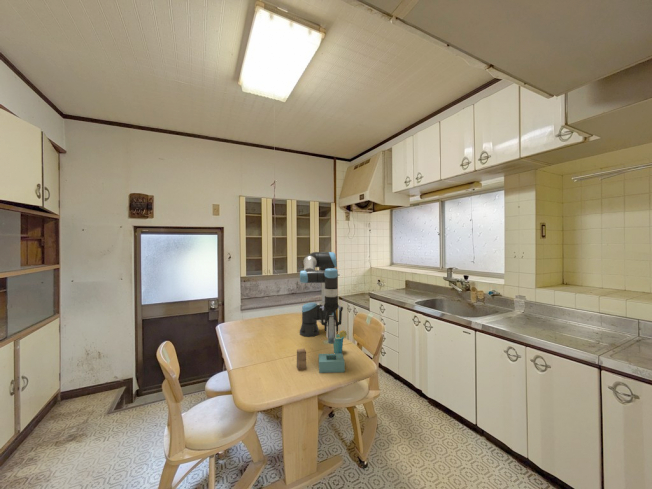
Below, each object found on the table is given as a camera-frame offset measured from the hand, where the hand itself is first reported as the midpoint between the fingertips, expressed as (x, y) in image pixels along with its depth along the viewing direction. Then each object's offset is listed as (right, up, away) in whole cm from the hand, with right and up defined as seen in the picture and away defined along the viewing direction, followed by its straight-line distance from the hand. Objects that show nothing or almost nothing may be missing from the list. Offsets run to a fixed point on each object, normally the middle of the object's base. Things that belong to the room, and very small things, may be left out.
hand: (331, 336), depth 143 cm
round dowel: (0, -3, 0) cm, 3 cm away
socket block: (0, -18, 0) cm, 18 cm away
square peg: (-17, -18, 0) cm, 25 cm away
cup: (+4, -18, +20) cm, 27 cm away
